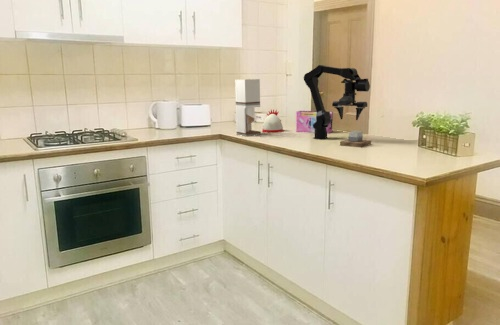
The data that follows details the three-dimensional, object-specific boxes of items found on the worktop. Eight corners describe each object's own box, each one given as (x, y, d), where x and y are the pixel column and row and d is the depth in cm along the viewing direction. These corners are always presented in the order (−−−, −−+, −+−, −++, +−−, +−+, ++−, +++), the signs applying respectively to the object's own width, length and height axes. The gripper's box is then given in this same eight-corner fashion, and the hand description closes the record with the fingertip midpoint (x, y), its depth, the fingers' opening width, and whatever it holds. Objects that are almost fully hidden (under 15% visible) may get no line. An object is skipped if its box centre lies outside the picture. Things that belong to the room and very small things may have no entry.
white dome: (283, 132, 274) (283, 109, 270) (262, 132, 274) (262, 110, 271) (282, 129, 287) (282, 108, 284) (262, 130, 288) (262, 108, 284)
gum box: (334, 132, 270) (334, 111, 267) (330, 133, 263) (330, 112, 260) (300, 130, 282) (300, 110, 279) (295, 131, 275) (295, 111, 272)
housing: (348, 141, 218) (348, 132, 217) (353, 139, 223) (353, 130, 222) (357, 142, 215) (357, 132, 214) (362, 140, 220) (362, 131, 219)
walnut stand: (339, 145, 219) (340, 141, 218) (350, 142, 228) (350, 138, 227) (361, 147, 211) (361, 143, 211) (370, 144, 220) (371, 140, 220)
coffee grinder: (246, 136, 258) (244, 79, 251) (236, 134, 267) (235, 79, 260) (260, 134, 265) (259, 79, 258) (250, 133, 273) (249, 79, 266)
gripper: (327, 91, 227) (327, 120, 230) (359, 92, 215) (358, 122, 218) (337, 91, 235) (336, 118, 238) (368, 91, 223) (367, 120, 227)
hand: (349, 119), depth 230 cm, fingers open, 9 cm apart
